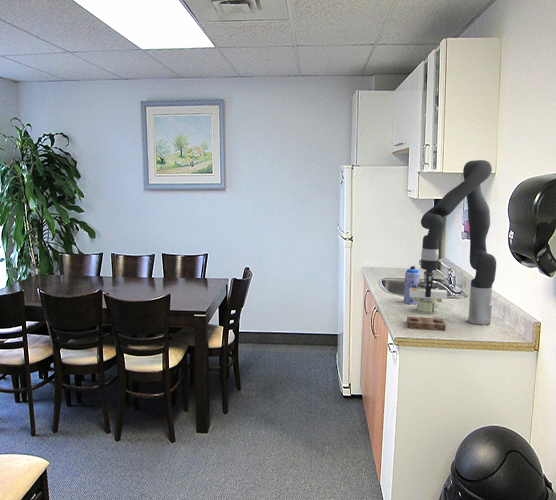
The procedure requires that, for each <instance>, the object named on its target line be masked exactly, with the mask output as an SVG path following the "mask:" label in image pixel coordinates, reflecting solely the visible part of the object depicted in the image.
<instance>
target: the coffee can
mask: <svg viewBox="0 0 556 500" xmlns="http://www.w3.org/2000/svg"><path fill="white" fill-rule="evenodd" d="M425 287H426V286H425V285H424V281H419V283H418V289H425ZM432 289H433V290H440V284H439V283H437V282H433V284H432ZM438 307H439V302H437V298H419V301H417V304H416V311H417V312H419V313H420V314H421V313H422V314H428V315H434V314H437V313H438V311H439V310H438Z"/></svg>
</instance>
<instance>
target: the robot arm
mask: <svg viewBox="0 0 556 500" xmlns="http://www.w3.org/2000/svg"><path fill="white" fill-rule="evenodd" d="M492 169H493V168H492V164H491V163H490V162H489V161H488V160H486V159H485V160H484V159H478V160H477V159H475V160H470V161H469V160H468V161H467V162H466V163H465V164H464V166H463V170H462V175H463V181H462V182H460V183H459V184H458V185H457V186H455V187H454V188H452V189H451V190H449V191H448V192H447V193H446V194H445V195H444V196H443V197H442V198H441V199H440V200H439V202H437V204H436V205H434V206H433V207H432V208H430V209H429V210H427V211H426V212H425V213H424V214H423V215H422V218H421V219H420V225H421V226H422V228H423V229H425V230H428V232H427V234H426V235H424V236H423V237H422V246H421V247H422V248H421V254H420V256H421V257H420V269H422V270H425V271H424V272H423V282H424V285H425V286H426V287H425V289H426V292H425V297H431V289H432V284H433V283H434V275H435V274H434V272H433V271H438V269H439V260H440V259H439V257H440V252H439V251H440V250H439V248H440V247H439V246H440V239H441V236H442V233H443V231H444V227H445V223H444V219H443V217H448V216H449V215H450V214H451V213H453V211H454V210H455V209H456V208H457V206H459V204H460V203H462V201H463V200H464V199H466V201H467V202H466V203H467V218H468V229H469V234H468V235H469V243H470V245H469V264H470V265H469V266H470V267H471V268H472V269H473V270H475V276H474V278H472V279H471V281H470V290H469V303H468V314H467V315H468V317H467V322H469V323H470V324H473V325H479V326H486V325H487V326H488V325H491V321H492V307H493V305H492V294H493V293H492V292H493V284H494V282H495V280H496V272H497V259H496V258H495V256H494V255H493V254H491V253H488V250H487V236H488V233H489V229H490V227H491V213H490V210H491V209H490V207H489V204H488V202H487V200H486V198H485V197H484V195H483V192H482V188H481V187H482V185H481V184H482V183H484V182H485V181H486V180H487V179H488V178H489V177H490V176H491V175H492Z"/></svg>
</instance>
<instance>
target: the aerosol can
mask: <svg viewBox="0 0 556 500" xmlns="http://www.w3.org/2000/svg"><path fill="white" fill-rule="evenodd" d="M420 276H421V273H420V271H419V270H418V269H417V268H416V265H415V266H414V265H413V266H410V268H408V269H407V270H406V271H405V273H404V291H403V293H404V294H403V295H404V296H403V303H404V304H405V305H411V306H412V305H413V306H414V305H416V306H417V301H414V297H410V296H409V290H410V288H417V289H418V283H420Z"/></svg>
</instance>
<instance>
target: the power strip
mask: <svg viewBox="0 0 556 500" xmlns="http://www.w3.org/2000/svg"><path fill="white" fill-rule="evenodd" d="M425 292H426V289H417V288H410V290H409V296H410V297H414V301H419V298H437V302H438V303H443V300H447V299H448V291H447V289H439V290H433V289H431V297H425Z"/></svg>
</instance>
